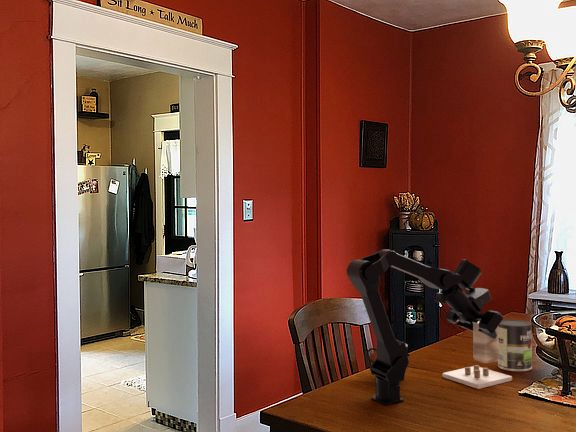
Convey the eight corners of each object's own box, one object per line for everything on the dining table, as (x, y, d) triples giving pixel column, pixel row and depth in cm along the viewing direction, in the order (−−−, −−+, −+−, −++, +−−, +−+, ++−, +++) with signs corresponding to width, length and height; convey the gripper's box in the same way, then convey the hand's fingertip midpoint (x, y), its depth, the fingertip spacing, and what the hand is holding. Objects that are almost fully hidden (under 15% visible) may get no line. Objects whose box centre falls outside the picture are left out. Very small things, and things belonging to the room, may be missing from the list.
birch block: (485, 363, 182) (484, 325, 181) (473, 359, 186) (473, 322, 186) (498, 361, 184) (498, 323, 183) (486, 357, 188) (486, 320, 188)
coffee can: (538, 367, 199) (538, 322, 199) (521, 373, 192) (521, 327, 192) (508, 361, 207) (507, 318, 206) (491, 367, 200) (490, 322, 200)
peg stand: (442, 377, 191) (442, 366, 191) (475, 369, 198) (475, 359, 198) (478, 388, 179) (478, 377, 179) (512, 380, 186) (512, 369, 186)
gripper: (497, 283, 174) (528, 319, 179) (453, 276, 191) (482, 309, 196) (475, 314, 171) (507, 350, 176) (432, 304, 188) (461, 337, 193)
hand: (489, 335), depth 185 cm, fingers closed on birch block, 5 cm apart
